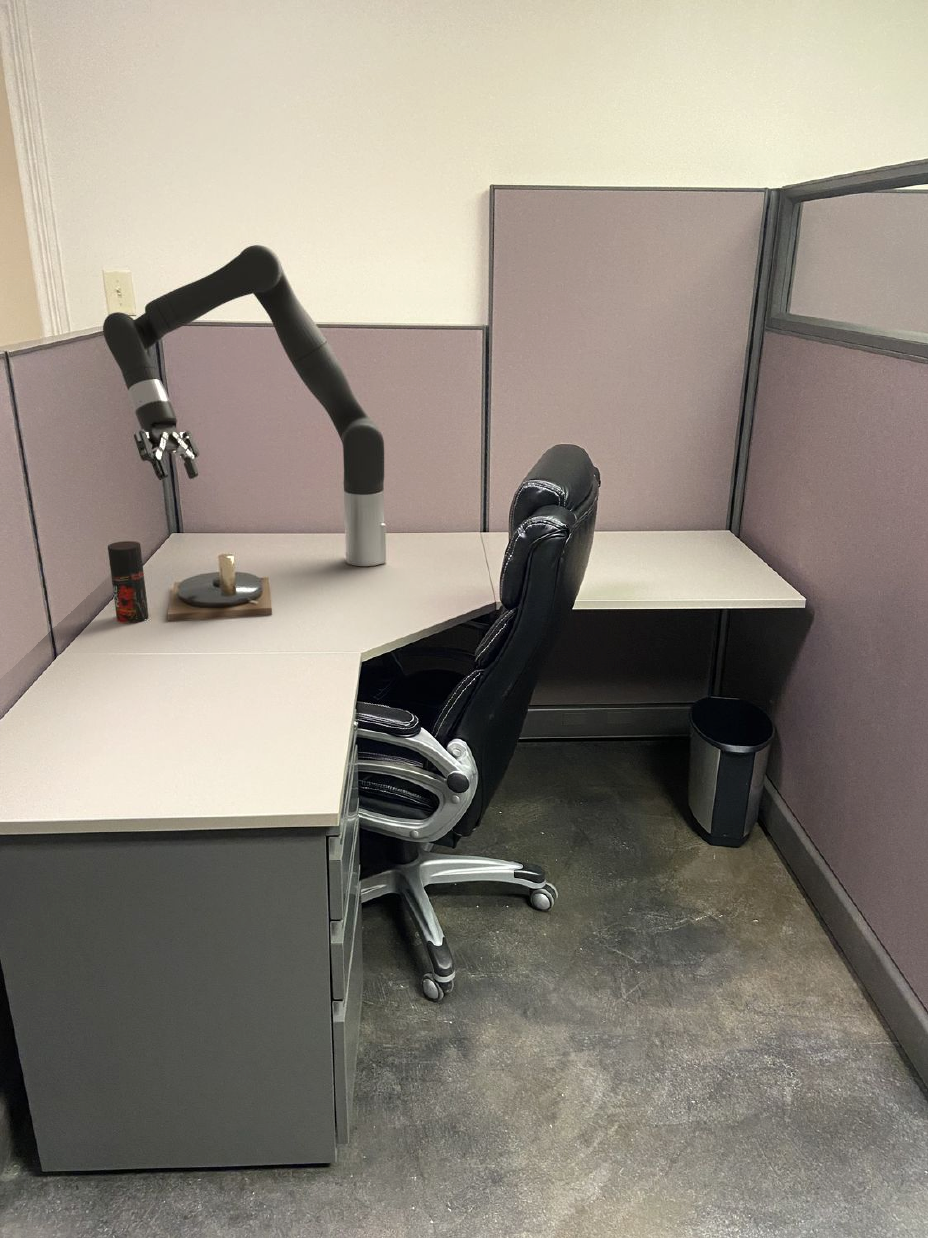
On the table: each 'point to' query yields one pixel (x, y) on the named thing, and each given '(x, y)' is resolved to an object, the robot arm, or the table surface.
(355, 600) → the table surface
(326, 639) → the table surface
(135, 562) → the deodorant
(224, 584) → the crank turntable
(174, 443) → the robot arm
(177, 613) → the stand base
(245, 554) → the table surface
